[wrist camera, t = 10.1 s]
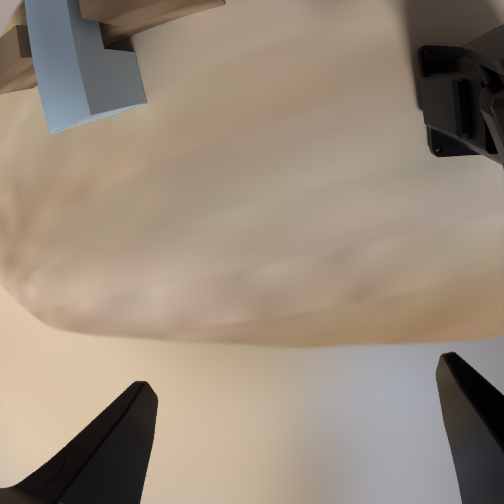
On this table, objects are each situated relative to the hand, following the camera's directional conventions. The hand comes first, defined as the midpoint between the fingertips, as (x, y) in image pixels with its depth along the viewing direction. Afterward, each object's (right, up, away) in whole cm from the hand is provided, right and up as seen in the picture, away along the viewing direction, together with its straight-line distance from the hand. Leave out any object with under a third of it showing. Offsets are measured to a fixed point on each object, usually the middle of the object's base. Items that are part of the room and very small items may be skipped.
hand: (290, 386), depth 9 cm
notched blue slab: (-9, +17, +6) cm, 20 cm away
